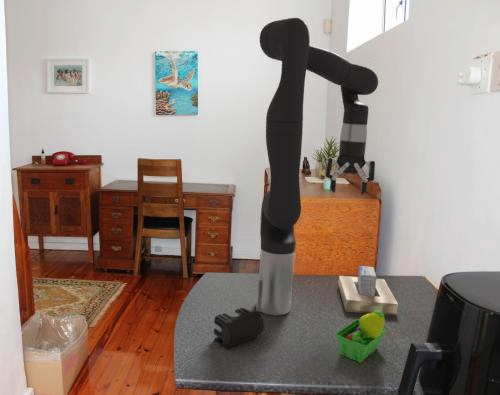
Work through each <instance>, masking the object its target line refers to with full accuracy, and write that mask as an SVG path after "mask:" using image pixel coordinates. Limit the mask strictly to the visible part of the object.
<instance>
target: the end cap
mask: <svg viewBox="0 0 500 395" xmlns="http://www.w3.org/2000/svg"><path fill="white" fill-rule="evenodd" d="M234 313H236V314H238V316H231V315H229V314H227V313H226V312H225V313H222V314H218V315H216V316H214V321H213V322H214V325H216V326H218V327H219V328H220V329H217V328H216V327H214V329H213V335H215V337H214V341H215V342H216V343H217V344H219V345H220V346H221V347H223V348H225V349H227V348H229V347H232V346H235V345H237V344H240V343H243V342H246V341H248V340H252V339H254V338H257V337H259V336H261V335H262V334H263V332H264V330H265V324H264V318H263V316H262V315H261V313H260V312H259V311H256V310H254V311H250V310H248V309H246V308H245V307H240V308H238V309H235V310H234Z"/></svg>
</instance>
